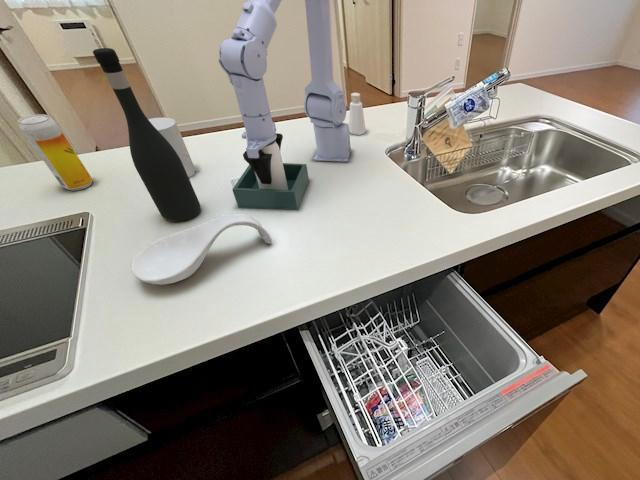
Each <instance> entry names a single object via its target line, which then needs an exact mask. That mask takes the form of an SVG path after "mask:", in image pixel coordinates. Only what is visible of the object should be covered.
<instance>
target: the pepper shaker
mask: <svg viewBox="0 0 640 480" xmlns="http://www.w3.org/2000/svg"><path fill="white" fill-rule="evenodd" d="M350 99H351V102H350V103H349V117H348V119H349V122H348V125H349V133H350V135H355V136H360V135H361V136H362V135H365V133H366V131H367V130H366V123H365V116H364V107H363V103H362V102H361V93H359V92H351V94H350Z"/></svg>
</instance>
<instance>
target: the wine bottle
mask: <svg viewBox="0 0 640 480" xmlns="http://www.w3.org/2000/svg"><path fill="white" fill-rule="evenodd" d="M92 54H93V56H94V58H95V60H96V62H97V64H99V66H100V67H101V69H102V71H103V73H104V75H105V77H106V78H107V81H108V83H109V85H110V87H111V89H112V91H113V93H114V94H115V97H116V98H117V100H118V102H119V104H120V106H121V109H122V111H123V113H124V116H125V120H126V123H127V131H128V142H129V150H130V156H131V159H132V162H133V165H134V168H135V170H136V171H137V174H138V175H139V177H140V179H141V181H142V183H143V185H144V186H145V188H146V190H147V192H148V194H149V196H150V197H151V199H152V201H153V203H154V205H155V207H156V209H157V210H158V212H159V214H160V216H161V217H162V218H163V219H165V220H167V221H171V222H183V221H187V220H189V219H192V218H194V217H195V216H197V215H198V214H199V212H200V211H201V203H200V201H199V198H198V196H197V193H196V191H195V189H194V186H193V185H192V182H191V180H190V177H189V178H188V175H187V173H186V171H185V168H184V166H183V164H182V161H181V159H180V158H179V156H178V154H177V153H176V151H175V150H174V149H173V147H172V146H171V145H170V143H169V142H168V141H167V140H166V139H165V138H164V137H163V135H162V134H161V133H160V132H159V131H158V130H157V129H156V128H155V127H154V126H153V125H152V124H151V122H150V121H149V120H148V119H149V118H148V117H147V116H146V114H145V113H144V111H143V110H142V108H141V106H140V104H139V102H138V100H137V98H136V96H135V94H134V92H133V89H132V87H131V85H130V83H129V79H128V78H127V75H126V74H125V71H124V69H123V68H122V65H121V63H120V59H119V57H118V54H117V52H116V51H115V49H113V48H110V47H102V48H96V49H93V51H92Z"/></svg>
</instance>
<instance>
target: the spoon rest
mask: <svg viewBox="0 0 640 480" xmlns="http://www.w3.org/2000/svg"><path fill="white" fill-rule="evenodd" d="M236 226H247V227H251V228H253V229H255V230H256V231H257V233H258V234H259V236H260V238H261V240H263V241H264V242H265V243H266V244H271V243H272V242H273V241H272V238H271V236H270V234H269V232H268V231H267V230H266V229H265V227H263V226H262V224H261V222H260V221H259V220H258V219H256V218H255V217H253V216H252V215H249V214H245V213H227V214H222V215H219V216H216V217H213V218H211V219H209V220H206V221H204V222H201V223H199V224H197V225H193V226H192V227H189V228H186V229H184V230H181V231H177V232H176V233H172V234H170V235H167V236H164V237H162V238H161V237H160V238H159V239H157V240H154V241H152V242H151V243H149V244H147V245H146V246H144V247H143V248H141V249H140V250H139V251H137V253H136V254H135V255H134V257H133V259H132V261H131V264H130V269H131V273H132V275H133V276H134V277H135V278H136V279H137V280H139V281H141V282H144V283H146V284H151V285H161V286H162V285H170V284H175V283H177V282H180V281H184V280H186V279H188V278H190V277H191V276H193V275H194V274H195V273H196V272H197V270H198V269H199V268H200V267H201V265H202V263H203V262H204V260H205V258H206V256H207V254H208V252H209V251H210V249H211V247H212V245H213V244H214V243H215V241H216V240H217V238H218V237H219V236H220V235H221V234H222V233H223V232H224V231H226V230H227V229H229V228H232V227H236Z"/></svg>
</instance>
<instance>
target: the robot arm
mask: <svg viewBox="0 0 640 480" xmlns="http://www.w3.org/2000/svg"><path fill="white" fill-rule="evenodd" d="M282 1H283V0H247V2H244V3H243V5H242V7H241V9H242V12H241V14H240V16H239V19H238V21H237V24H236V26H235V28H234V29H233V31H232V35H231V37H230V38H227V39H224V40H223V42H222V43H221V45H220V47H219V51H218V55H219V58H218V63H219V65H220V67H221V69H222V71H224V73H225V74H226V75H227V77H228V80H229V84H231V85H232V86H233V90H234V94H235V98H236V101H237V104H238V108H239V112H240V115H241V118H242V122H243V126H244V129H245V131H243V132H242V134H241V138H242V139H243V140H246V147H245V151H244V152H243V154H242V157H243V159H244V161H245V162H246V163H247V164H248V165H249V164H250V166H251V167H252V168H253V169H254V171H255V173H256V174H257V176H258V178H259V180H260V181H261V183H262V184H271V183H272V177H271V166H270V165H271V157H272V154H264V152H262V150H261V148H263V147H265V146H266V145H268V144H269V143H271V142H273V141H274V140H276V143H277V144H278V146H279V149H280V150H281V149H282V142H283V138H284V136H283V134H282V133H278V132H277V127H276V122H275V121H273V118H272V117H273V116H272V114H271V108H270V104H269V99H268V95H267V90H266V86H265V81H264V75H265V74H266V73H267V69H268V61H267V57H268V49H269V48H268V47H269V45H270V43H271V41H272V38H273V37H274V34H275V31H276V29H277V26H278V24H277V23H278V22H277V18H276V15H275V14H276V12H277V10H278V8H279V7H280V5H281V3H282ZM304 1H305V2H304V3H305V4H304V5H305V16H306V27H307V39H308V41H307V42H308V50H309V63H310V77H311V81H310V82H309V83H308V84H307V85H306V86H305V87H304V101H303V109H304V113H305V115H306V116H307V118H309V119H310V123H311V124H313V132H314V139H315V145H316V152H315V155H314V157H313V160H314V161H320V162H343V163H347V162H349V159H350V155H351V151H352V147H351V136H350V135H351V133H350V132H349V123H347V122H344V121H345V119H346V116H347V105H346V101H345V96H344V95H345V94H344V90H343V89H342V88H341V87H340V86H339V85H338V84H337V83H336V82H335V81H334V67H333V66H334V64H333V43H332V41H333V40H332V21H331V0H304Z"/></svg>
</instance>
